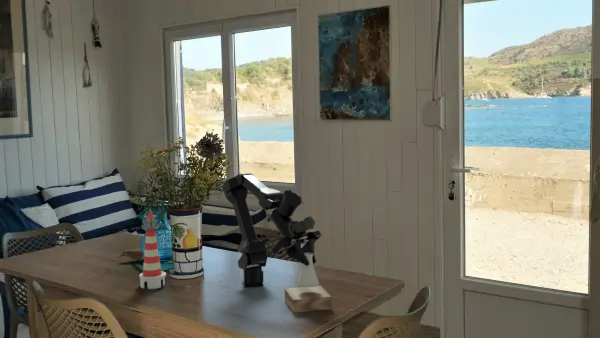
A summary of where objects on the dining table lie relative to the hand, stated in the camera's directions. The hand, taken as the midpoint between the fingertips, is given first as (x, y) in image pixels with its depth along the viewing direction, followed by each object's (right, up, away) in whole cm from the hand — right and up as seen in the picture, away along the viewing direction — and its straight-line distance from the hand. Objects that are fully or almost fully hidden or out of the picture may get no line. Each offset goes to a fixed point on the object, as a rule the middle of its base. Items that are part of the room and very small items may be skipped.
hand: (311, 264), depth 193 cm
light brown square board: (-1, -13, +2) cm, 13 cm away
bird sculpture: (-65, -8, +60) cm, 89 cm away
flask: (-1, -7, +1) cm, 7 cm away
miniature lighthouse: (-55, -12, +24) cm, 62 cm away
